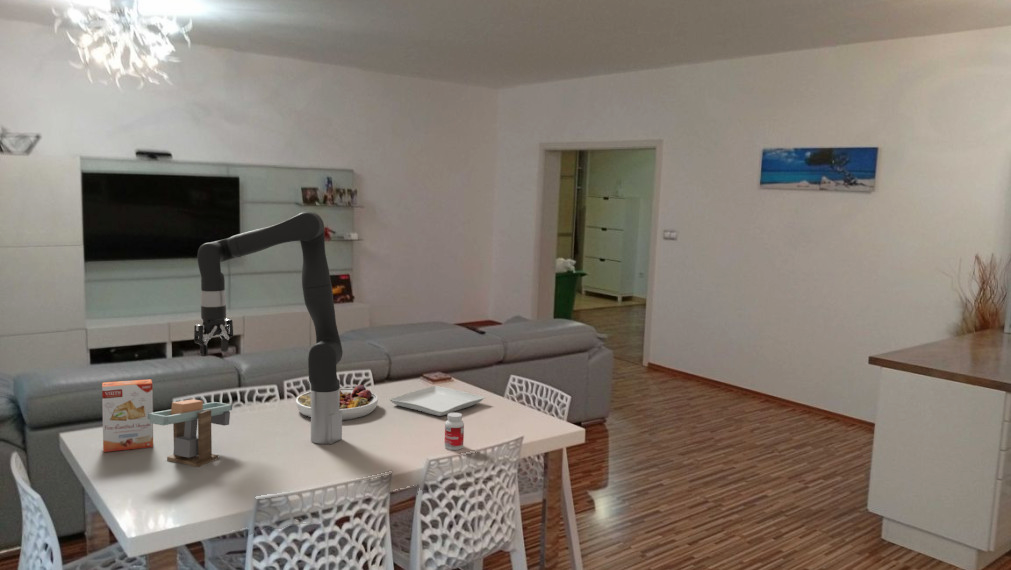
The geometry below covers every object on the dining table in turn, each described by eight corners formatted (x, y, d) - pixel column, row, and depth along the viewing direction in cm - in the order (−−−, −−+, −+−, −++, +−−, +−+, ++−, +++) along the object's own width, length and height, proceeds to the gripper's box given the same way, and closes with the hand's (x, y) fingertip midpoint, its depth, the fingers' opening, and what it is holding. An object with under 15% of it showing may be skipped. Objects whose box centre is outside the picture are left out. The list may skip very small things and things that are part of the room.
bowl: (337, 428, 257) (337, 406, 256) (278, 412, 272) (278, 392, 271) (394, 409, 282) (394, 389, 281) (337, 396, 298) (337, 377, 297)
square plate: (434, 393, 307) (434, 384, 307) (486, 405, 291) (486, 396, 291) (387, 406, 285) (388, 397, 285) (441, 421, 269) (441, 410, 269)
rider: (202, 414, 221) (203, 400, 221) (181, 418, 214) (182, 404, 214) (191, 412, 223) (192, 399, 223) (170, 416, 215) (171, 402, 215)
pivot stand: (218, 458, 223) (217, 408, 222) (198, 466, 216) (197, 415, 214) (187, 452, 228) (187, 403, 226) (167, 460, 220) (166, 409, 219)
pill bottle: (441, 448, 239) (441, 415, 237) (449, 443, 244) (450, 410, 243) (458, 451, 236) (459, 418, 235) (466, 446, 242) (467, 413, 241)
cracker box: (103, 453, 224) (101, 386, 222) (103, 447, 230) (101, 381, 227) (154, 447, 231) (152, 382, 228) (153, 441, 236) (151, 378, 234)
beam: (229, 447, 231) (232, 404, 231) (162, 465, 207) (166, 416, 207) (211, 444, 234) (215, 401, 234) (144, 460, 209) (147, 413, 209)
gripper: (205, 307, 229) (206, 359, 231) (238, 302, 242) (239, 351, 244) (187, 306, 232) (188, 356, 234) (221, 300, 245) (222, 348, 247)
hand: (214, 353), depth 239 cm, fingers open, 8 cm apart
